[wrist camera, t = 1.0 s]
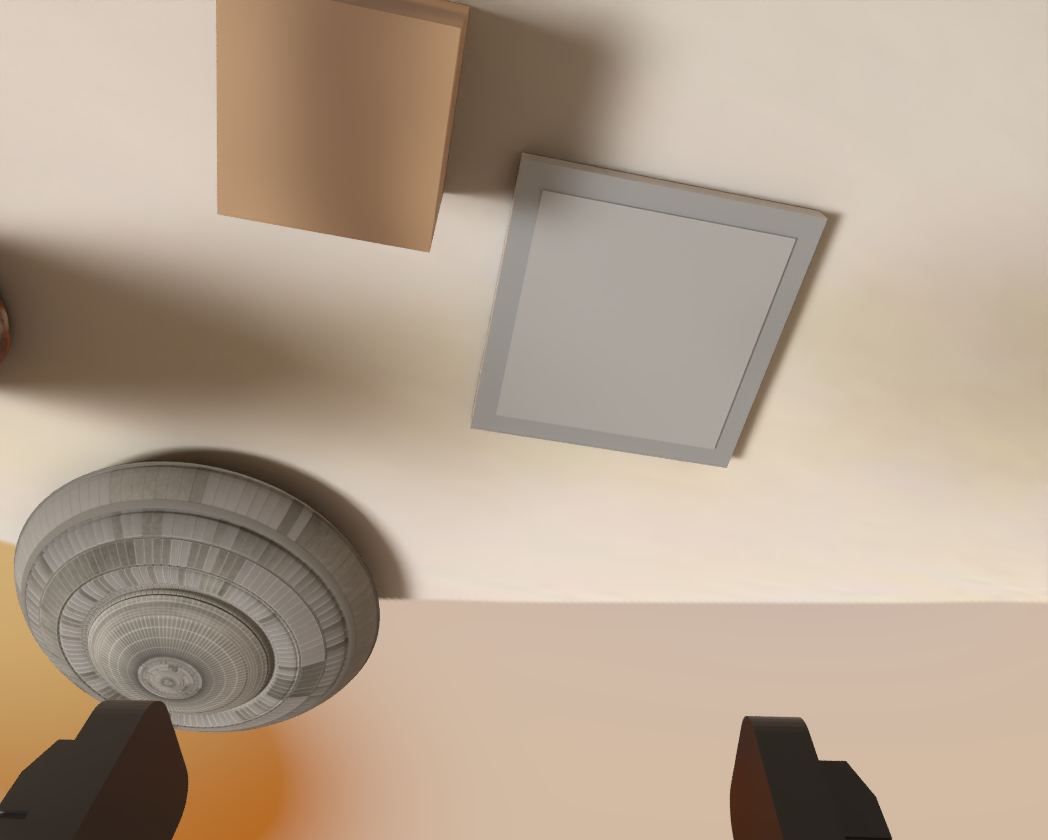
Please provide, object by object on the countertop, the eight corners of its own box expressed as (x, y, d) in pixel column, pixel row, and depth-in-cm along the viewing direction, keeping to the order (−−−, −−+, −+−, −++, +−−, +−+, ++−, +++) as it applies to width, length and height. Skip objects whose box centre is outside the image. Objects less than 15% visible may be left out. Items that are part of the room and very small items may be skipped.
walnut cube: (270, 159, 25) (217, 214, 21) (276, -37, 22) (216, -25, 18) (443, 192, 26) (429, 252, 21) (470, 5, 23) (461, 27, 18)
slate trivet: (471, 416, 30) (470, 429, 30) (521, 152, 25) (522, 159, 24) (722, 455, 32) (727, 469, 31) (819, 210, 26) (828, 219, 26)
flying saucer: (454, 585, 36) (445, 687, 31) (248, 734, 41) (214, 839, 36) (163, 370, 30) (99, 454, 25) (-34, 577, 35) (-118, 678, 30)
